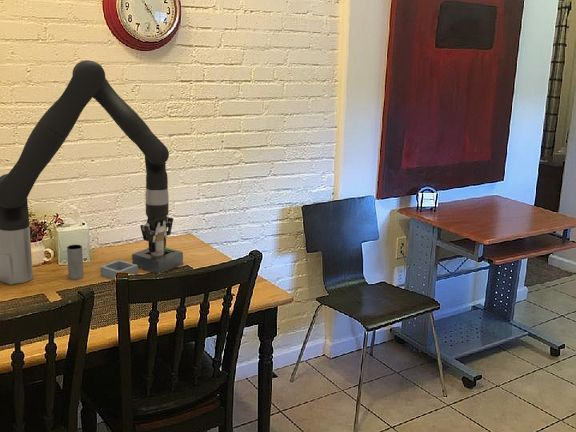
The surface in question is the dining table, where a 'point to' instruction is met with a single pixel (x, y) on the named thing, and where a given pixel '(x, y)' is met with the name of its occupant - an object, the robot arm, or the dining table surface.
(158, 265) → the port block
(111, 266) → the blue-grey square tray
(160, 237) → the sprinkles bottle
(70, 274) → the gray cylinder
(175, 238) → the dining table surface
